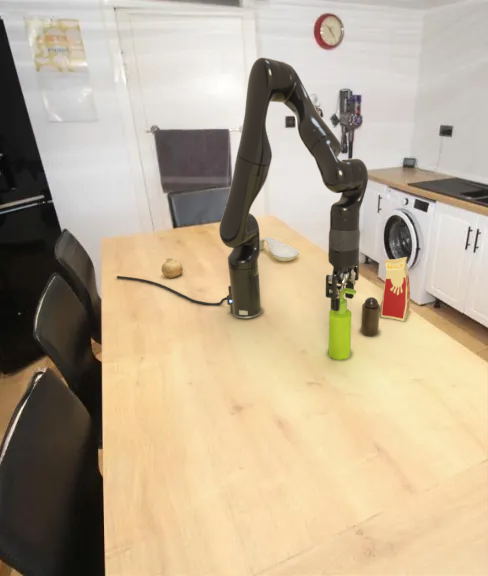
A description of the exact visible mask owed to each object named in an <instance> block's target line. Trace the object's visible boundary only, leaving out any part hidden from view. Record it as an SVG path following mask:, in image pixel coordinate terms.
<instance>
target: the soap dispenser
mask: <svg viewBox="0 0 488 576" xmlns="http://www.w3.org/2000/svg"><path fill="white" fill-rule="evenodd" d="M337 291H338V289H337ZM345 293H348V294H353V295H354V296H355V295H356V294H357V290H356V289H354V290H353V289H349V288H345V287H344V290H342V291H341V294H340V297H339V298H340V310H339V311H333V310H331V309H330V310H329V312H328V355H329V357H330V358H331V359H333V360H338V361H343V360H346V359H348V358H349V357H350V356H351V335H352V334H351V333H352V311H351V310H350V309H348V300H347V299H346V298H345Z"/></svg>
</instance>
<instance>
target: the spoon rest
mask: <svg viewBox="0 0 488 576" xmlns="http://www.w3.org/2000/svg"><path fill="white" fill-rule="evenodd" d="M265 242H266V243H267V245H268V249H269V251H270V253H271V255H272V257H273V258H274V259H275V260H277V261H279V262H283V263H285V262H290V261H293V260H295V259H296V258H297V257H298V256H299V254H300V251H299V250H298V249H297V248H295V247H293V246H291V245H289V244H287V243H285V242H282V241H280V240H279V239H278V240H277V239H275V238H274V237H270V236H266V237H264V238H260V251H262V250H264V249H265Z"/></svg>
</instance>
